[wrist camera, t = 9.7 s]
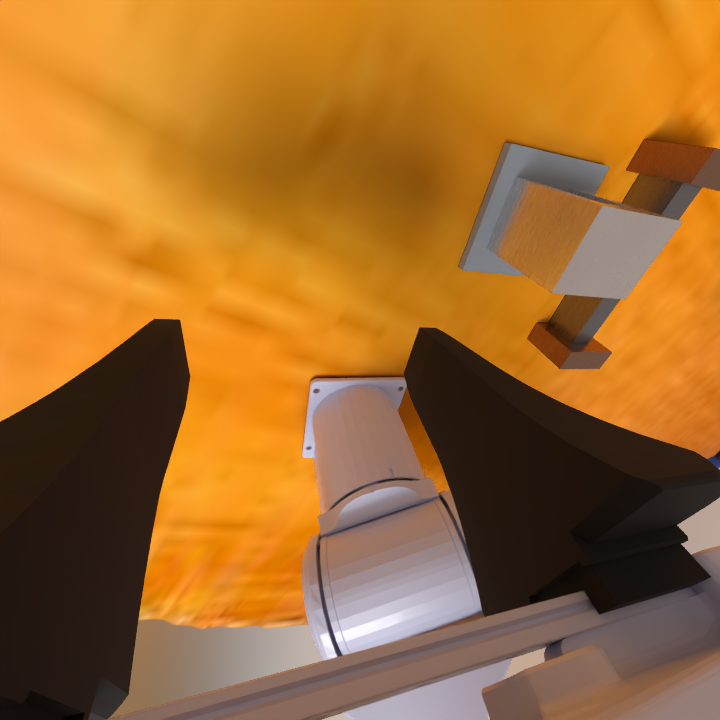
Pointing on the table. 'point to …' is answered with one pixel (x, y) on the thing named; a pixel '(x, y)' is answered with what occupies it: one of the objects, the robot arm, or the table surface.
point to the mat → (510, 165)
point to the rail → (649, 192)
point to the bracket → (577, 240)
